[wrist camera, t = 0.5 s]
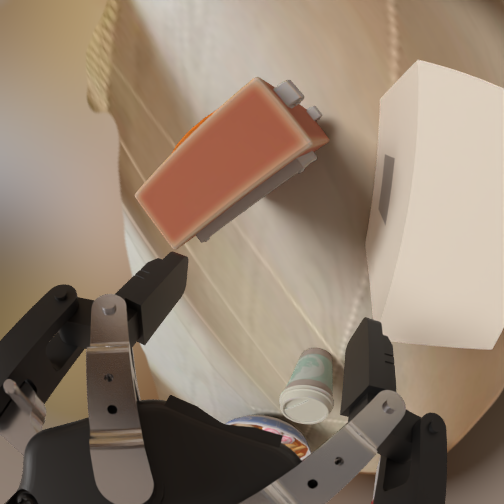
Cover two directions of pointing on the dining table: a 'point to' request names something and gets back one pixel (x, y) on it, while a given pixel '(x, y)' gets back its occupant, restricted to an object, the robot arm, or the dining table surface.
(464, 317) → the knob mount
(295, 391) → the coffee cup
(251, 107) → the orange radio
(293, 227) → the dining table surface
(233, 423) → the ramen bowl
